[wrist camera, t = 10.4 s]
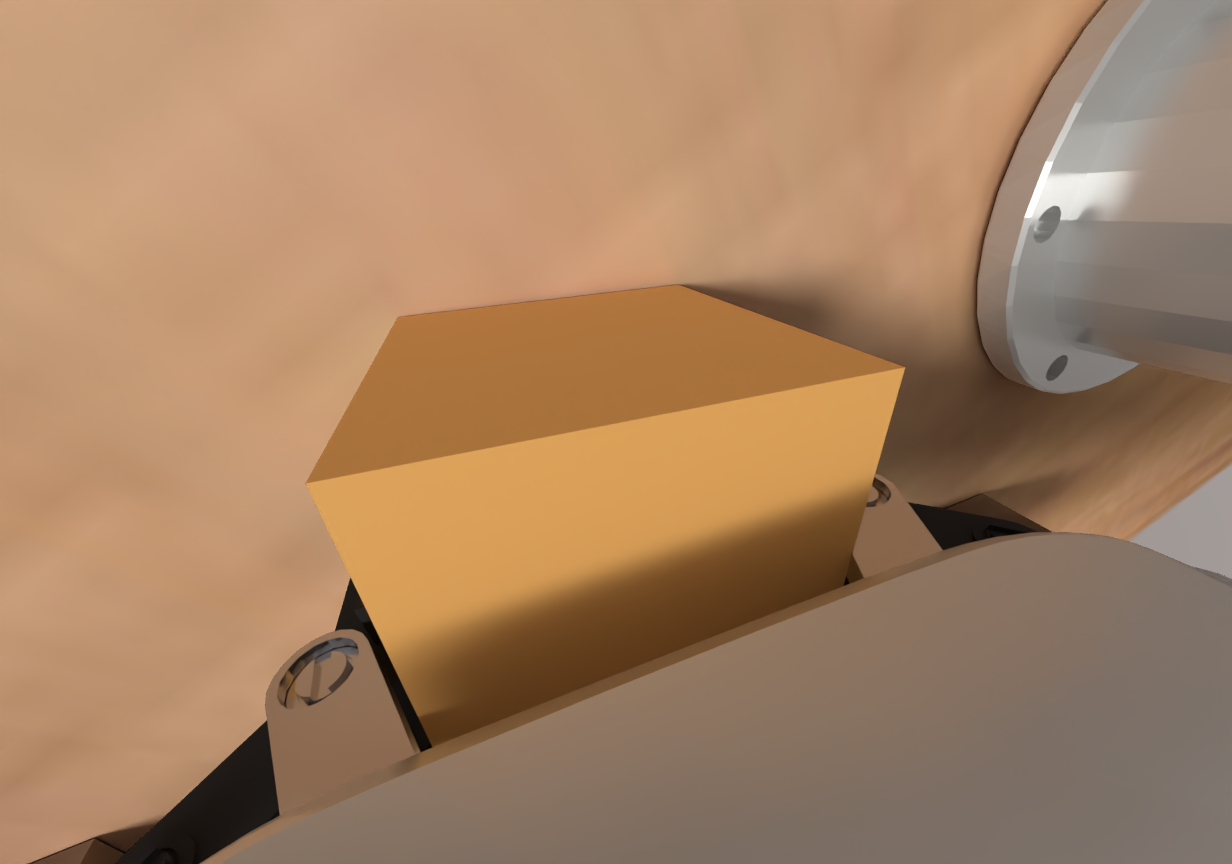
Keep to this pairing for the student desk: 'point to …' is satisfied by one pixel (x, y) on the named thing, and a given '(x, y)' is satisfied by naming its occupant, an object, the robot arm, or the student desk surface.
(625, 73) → the student desk surface
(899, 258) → the student desk surface
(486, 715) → the orange stepped block
